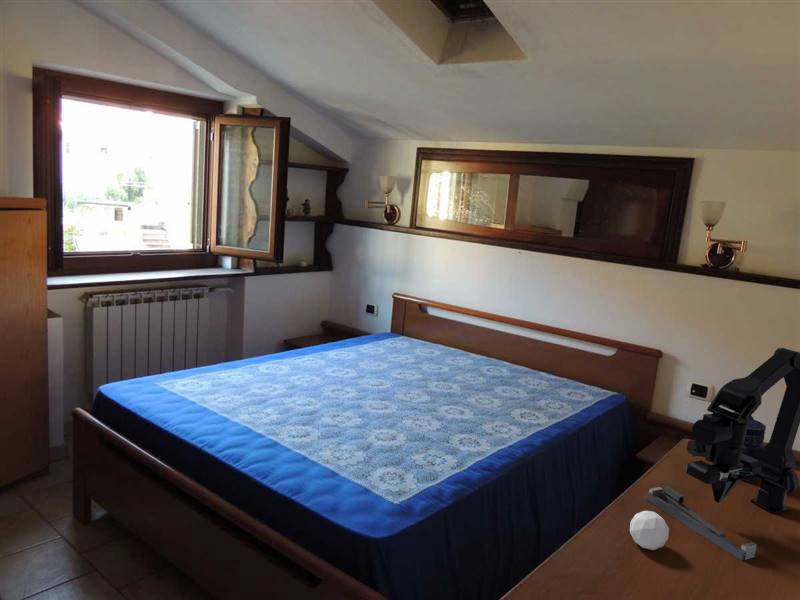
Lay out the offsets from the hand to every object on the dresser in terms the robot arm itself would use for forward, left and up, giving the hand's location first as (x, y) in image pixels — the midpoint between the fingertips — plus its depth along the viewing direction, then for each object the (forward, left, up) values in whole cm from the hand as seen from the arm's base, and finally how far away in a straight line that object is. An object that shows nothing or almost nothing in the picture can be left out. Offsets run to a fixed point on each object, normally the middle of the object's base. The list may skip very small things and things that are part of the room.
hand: (717, 501), depth 147 cm
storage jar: (-31, -17, -6) cm, 36 cm away
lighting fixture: (+4, -3, -6) cm, 8 cm away
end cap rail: (+6, 0, -5) cm, 8 cm away
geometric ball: (+24, +2, -6) cm, 25 cm away
